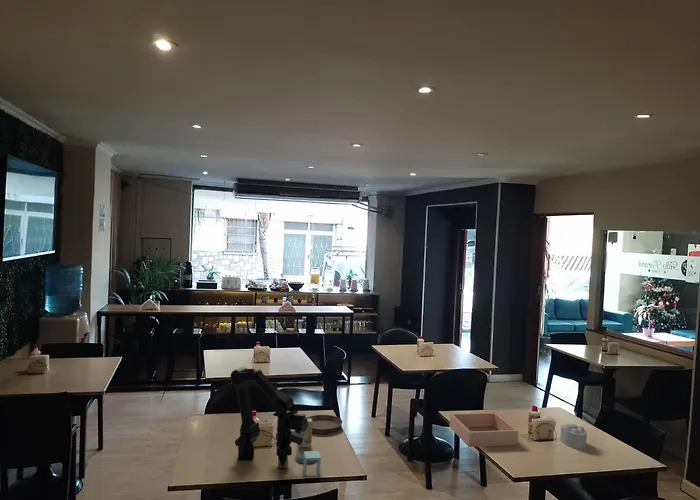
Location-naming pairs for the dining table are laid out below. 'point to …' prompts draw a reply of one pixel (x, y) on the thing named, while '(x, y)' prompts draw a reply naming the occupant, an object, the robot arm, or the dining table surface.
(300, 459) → the grey domed disc
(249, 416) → the robot arm
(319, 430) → the plant saucer
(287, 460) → the walnut block
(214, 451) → the dining table surface
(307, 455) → the teal arch
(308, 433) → the skincare box
